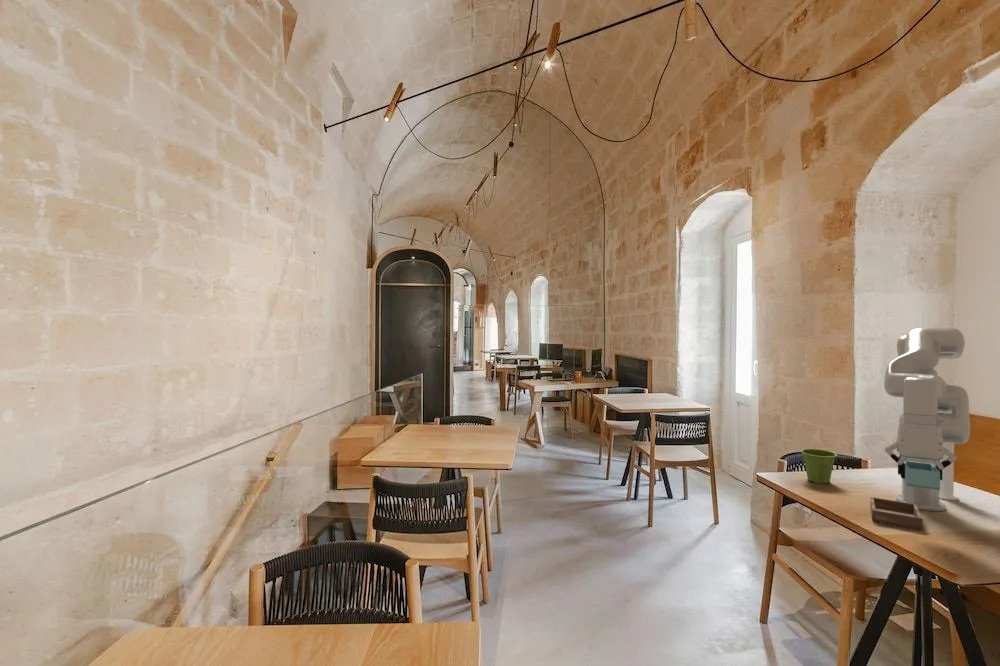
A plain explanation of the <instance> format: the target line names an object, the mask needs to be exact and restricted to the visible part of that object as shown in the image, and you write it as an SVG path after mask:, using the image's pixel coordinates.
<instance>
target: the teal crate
mask: <svg viewBox="0 0 1000 666" xmlns="http://www.w3.org/2000/svg"><path fill="white" fill-rule="evenodd" d="M904 465H905V478H904V481H905V483H906V484H907V486H913V487H920V488H927V489H935V490H940V472H939V471H938V469H937V468H936V467H935V466H934V465H933V464H929V463H920V462H912V461H904Z"/></svg>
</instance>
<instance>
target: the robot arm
mask: <svg viewBox="0 0 1000 666" xmlns="http://www.w3.org/2000/svg"><path fill="white" fill-rule="evenodd" d="M965 341H966V340H965V337H964V334H963V333H962V331H960V329H957V328H953V327H918V328H914V329H911V330H910V331H908V332H907V334H905V335H902V336H900V337H899V338H898V339H897V342H896V350H897V351H896V352H897V355H898V356H897V357H896V358H894V359H893V360H892V361H891V362H889V363H888V365H887V366H886V369H885V373H884V390H885V392H886V393H887V395H889V396H890V397H894V398H903V400H902V401H903V403H902V404H903V407H902V409H903V410H902V413H901V414H900V416H899V419H898V429H897V435H896V436H897V437H896V442H894V443H891V444H890V445H888V446H887V447H885V448H884V451H885V453H887V455H888V456H889V457H891V459H892V460H893V461H895V462H896V464H897V474H898V476H899V475H900V478H901V494H900V495H896V497H895V501H900V502H906V503H912V504H916V505H917V507H918V510H921V511H929V512H932V511H933V512H943V511H946V508H947V507H946V504H945V503H943V502H942V501H940V498H939V490H935V489H927V488H920V487H913V486H907V484H906V483H905V481H904V478H905V465H904V461H912V462H920V463H929V464H933V465H934V466H935V467H936V468H937V469H938V471H939V472H940V480H942V470H943V469H944V468H945V467H947V466H949V465H950V464H951V463H953V462H954V463H955V461H957V460H958V456H957V455H955V453H954V454H953V453H951V452H950V451H949V450H947V449H946V448H944V447H943V442H947V443H954V444H959V445H960V444H965V443H967V442H969V439H970V436H971V420H970V401H969V395H968V392H967V390H966V389H965V388H964V387H962V386H960V385H955V384H947V382H946V380H944V379H943V378H942V377H941V376H940V375H939V374H938V372H937V371H936V369H935V367H936V366H937V365H938V364H939V361H940V360H944V359H945V360H956V359H960V357H962V355H963V352H964V349H965V346H966V345H965V344H966V343H965ZM894 450H896V451H897V452H898V454H899V456H897V455H896V454H895V453H894V452H893V451H894ZM944 453H945V454H946V455H947V456H949V457H948V458H947V459H946V460H944V461H942V462H940V460H942V459H943V456H944Z"/></svg>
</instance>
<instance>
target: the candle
mask: <svg viewBox="0 0 1000 666" xmlns="http://www.w3.org/2000/svg"><path fill="white" fill-rule="evenodd" d="M943 447H944V448H946V449H947V450H949V451H950V452H951V453H953V454H954V455H955V443H947V442H943ZM948 457H949V456H947V455H946V454H945V453H944V456H943V459H942V460H940V462H942V461H944V460H946V459H947V458H948ZM954 464H955V461H954V462H953V463H951V464H950V465H949V466H947V467H945V468H944V469H943V470H942V480H940V490H939V500H944V501H945V500H946V501H958V500H959V496H957V495H956V494H954V493H955V491H954V489H955V488H954V483H955V481H954V477H955V475H954V472H955V470H954V469H955V468H954V467H955V465H954Z"/></svg>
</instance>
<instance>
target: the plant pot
mask: <svg viewBox="0 0 1000 666" xmlns="http://www.w3.org/2000/svg"><path fill="white" fill-rule="evenodd" d="M800 453H802V458H803V459H804V466H805V467H804V468H805V472H806V476H807V480H808V481H809V482H813V483H816V484H821V483H822V484H823V485H824V484H827V483H828V484H829V483H830V482H831V478H832V472H833V467H834V462H835V460H836V457H837V456H838V454H837V453H835V452H834V451H830V450H826V449H821V448H820V449H819V448H803V449H800ZM822 484H821V485H822Z"/></svg>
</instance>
